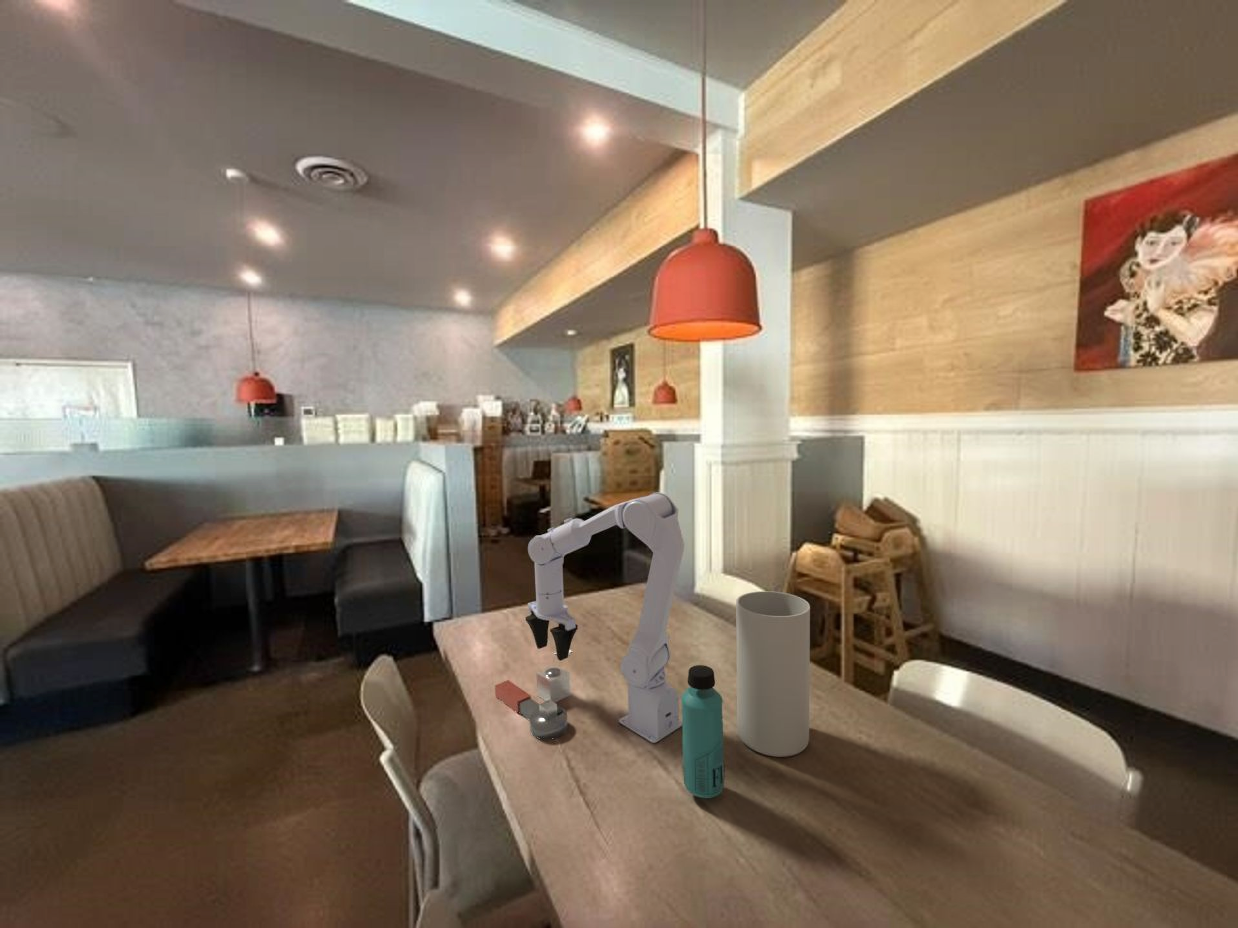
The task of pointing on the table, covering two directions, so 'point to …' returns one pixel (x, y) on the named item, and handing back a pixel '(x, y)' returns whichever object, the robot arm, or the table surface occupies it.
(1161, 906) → the table surface
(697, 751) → the beverage bottle
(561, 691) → the cube block
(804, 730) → the cylinder vase
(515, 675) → the table surface
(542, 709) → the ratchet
